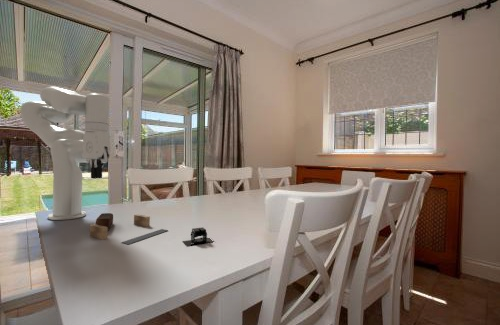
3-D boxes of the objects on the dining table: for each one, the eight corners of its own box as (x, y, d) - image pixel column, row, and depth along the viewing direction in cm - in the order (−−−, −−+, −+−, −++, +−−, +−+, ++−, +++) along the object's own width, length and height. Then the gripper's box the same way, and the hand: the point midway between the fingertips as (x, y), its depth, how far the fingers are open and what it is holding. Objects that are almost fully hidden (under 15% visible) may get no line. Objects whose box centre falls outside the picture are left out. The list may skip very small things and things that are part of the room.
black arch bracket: (181, 250, 71) (182, 234, 71) (175, 242, 77) (175, 228, 77) (221, 244, 77) (222, 229, 77) (212, 237, 83) (213, 223, 83)
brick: (108, 232, 84) (109, 218, 83) (95, 233, 82) (95, 219, 82) (113, 224, 93) (113, 211, 93) (101, 224, 92) (101, 212, 92)
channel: (89, 236, 79) (89, 225, 79) (137, 223, 95) (137, 214, 95) (102, 239, 76) (102, 228, 76) (149, 225, 92) (149, 216, 92)
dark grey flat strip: (121, 242, 74) (121, 242, 74) (161, 229, 88) (161, 228, 88) (128, 244, 72) (128, 244, 72) (168, 230, 87) (168, 230, 87)
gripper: (74, 127, 91) (73, 177, 91) (100, 126, 84) (99, 180, 85) (94, 130, 98) (93, 176, 98) (120, 129, 91) (119, 178, 91)
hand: (96, 178), depth 91 cm, fingers closed
